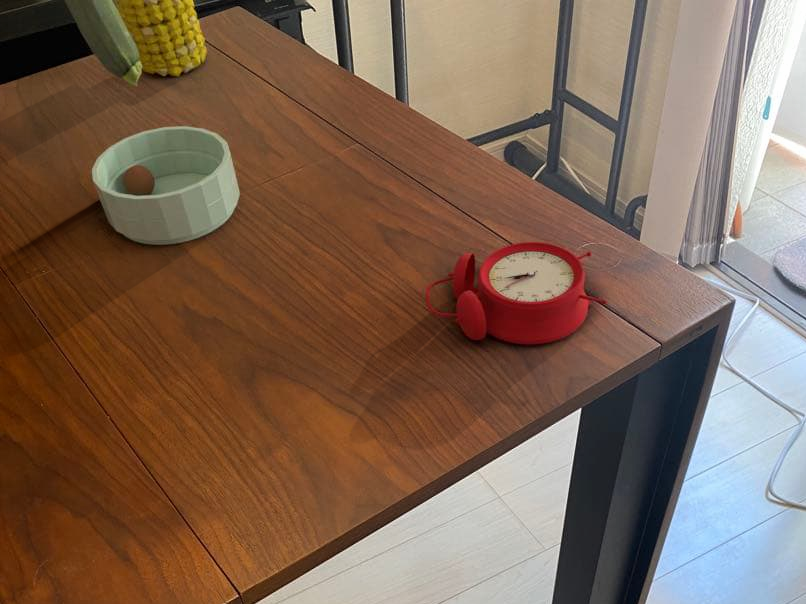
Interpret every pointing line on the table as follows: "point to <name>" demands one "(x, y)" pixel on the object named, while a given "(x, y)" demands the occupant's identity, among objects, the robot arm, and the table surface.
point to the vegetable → (107, 37)
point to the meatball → (139, 181)
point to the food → (164, 34)
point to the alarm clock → (520, 294)
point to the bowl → (168, 185)
